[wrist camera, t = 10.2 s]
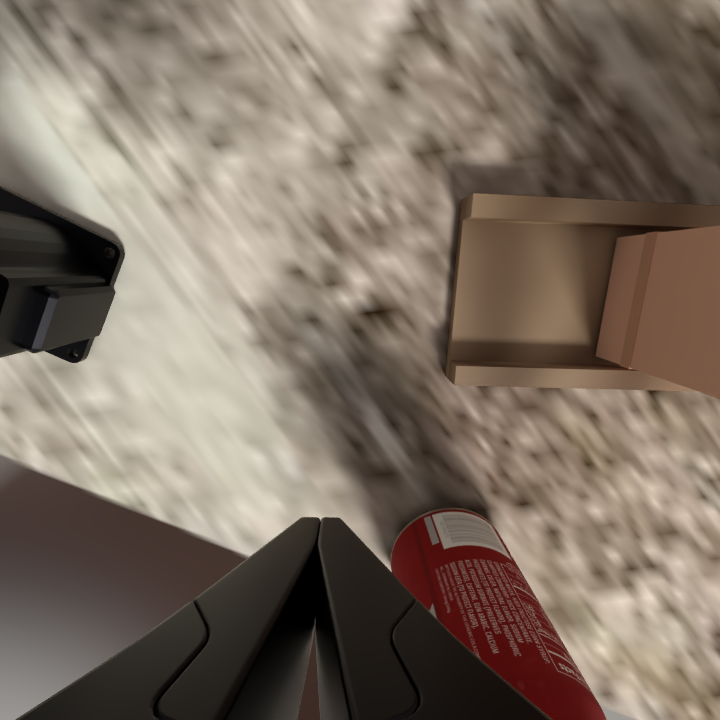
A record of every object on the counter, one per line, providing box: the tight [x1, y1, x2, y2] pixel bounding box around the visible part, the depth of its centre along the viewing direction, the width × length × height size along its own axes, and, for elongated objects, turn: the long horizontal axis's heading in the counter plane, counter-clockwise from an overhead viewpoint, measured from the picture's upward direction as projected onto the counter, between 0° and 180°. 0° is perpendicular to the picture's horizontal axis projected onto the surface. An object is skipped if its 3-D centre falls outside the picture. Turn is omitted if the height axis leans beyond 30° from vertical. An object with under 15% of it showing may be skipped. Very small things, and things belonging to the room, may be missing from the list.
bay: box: [445, 193, 720, 391], centre depth 16 cm, size 18×9×10 cm, turn 88°
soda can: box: [391, 507, 606, 720], centre depth 18 cm, size 7×7×12 cm
